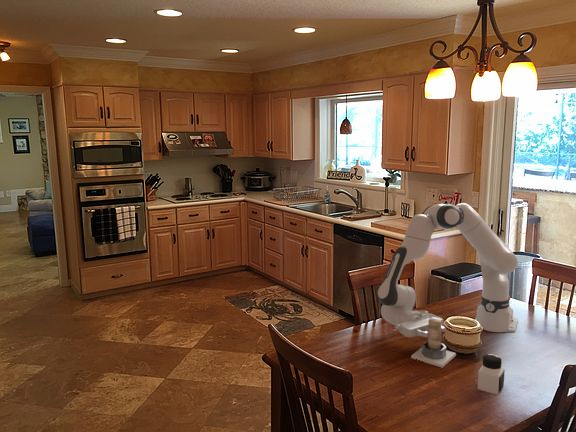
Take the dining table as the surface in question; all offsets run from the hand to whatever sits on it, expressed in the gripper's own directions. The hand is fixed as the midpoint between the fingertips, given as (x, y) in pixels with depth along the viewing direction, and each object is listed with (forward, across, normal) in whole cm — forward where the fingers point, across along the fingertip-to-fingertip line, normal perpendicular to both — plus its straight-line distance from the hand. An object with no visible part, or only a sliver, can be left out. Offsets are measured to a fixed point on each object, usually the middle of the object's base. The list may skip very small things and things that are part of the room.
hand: (436, 332), depth 192 cm
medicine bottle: (+27, -1, +11) cm, 29 cm away
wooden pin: (-1, 0, +10) cm, 10 cm away
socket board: (-1, 0, +11) cm, 11 cm away
